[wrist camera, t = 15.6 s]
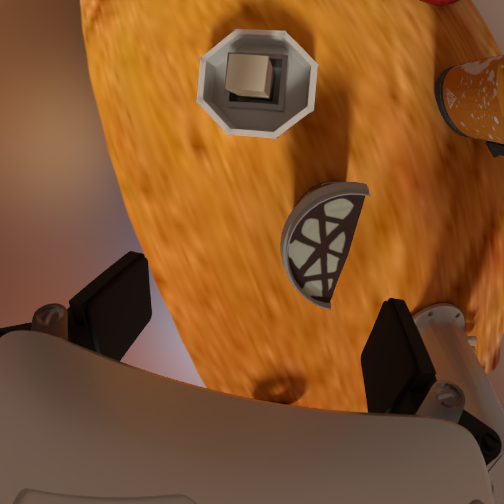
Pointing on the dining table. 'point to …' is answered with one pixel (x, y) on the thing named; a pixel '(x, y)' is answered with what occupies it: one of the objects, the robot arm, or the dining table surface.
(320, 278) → the food container
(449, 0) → the pomegranate
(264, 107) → the hollow square tube
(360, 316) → the dining table surface
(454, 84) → the canister
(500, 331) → the dining table surface
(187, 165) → the dining table surface
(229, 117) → the white octagonal tray
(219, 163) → the dining table surface
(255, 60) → the grey rectangular block
